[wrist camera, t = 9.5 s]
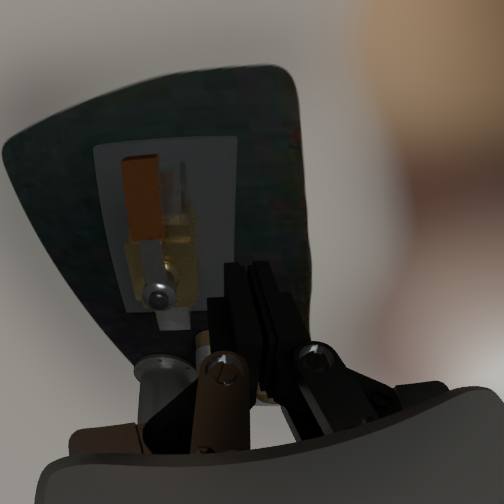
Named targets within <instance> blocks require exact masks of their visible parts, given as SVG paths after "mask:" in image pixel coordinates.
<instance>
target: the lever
mask: <svg viewBox="0 0 504 504" xmlns="http://www.w3.org/2000/svg"><path fill="white" fill-rule="evenodd" d="M120 163H121V172H122V180H123V188H124V195H125V202H126V209H127V215H128V221H129V227H130V232H131V238H132V241H138V244H139V249H140V254H141V259H142V264H143V269H144V274H145V278H146V282H145V284H144V288H143V293H142V299H143V302H144V303H145V305H146V306H148V307H149V308H151V309H153V310H156V311H166V310H169V309H171V308H172V307H173V306H174V305H175V304H176V299H177V287H176V285H175V284H174V282H173V281H171V280H170V279H168V278H167V274H166V267H165V261H164V255H163V248H162V241H161V239H164V235H165V231H166V230H165V221H164V212H163V202H162V192H161V180H160V167H159V154H148V155H138V156H129V157H125V158H124V159H123V160H121V161H120Z"/></svg>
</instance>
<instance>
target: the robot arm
mask: <svg viewBox="0 0 504 504" xmlns="http://www.w3.org/2000/svg"><path fill="white" fill-rule="evenodd" d="M206 299H207V314H208V328H209V341H210V353H211V354H210V355H208V356H207V357H205V359H204V360H203V361H202V363H201V366H200V370H199V377H198V378H197V375H196V368H195V367H194V366H193V364H191V363H190V362H189V361H187V360H185V359H183V358H180V357H178V356H174V355H168V354H152V355H148V356H145V357H142V358H140V359H139V360H138V361H137V362H136V363H135V365H134V375H135V377H136V379H137V380H138V381H139V382H140V394H139V407H138V424H137V425H136V424H135V423H128V424H121V425H113V426H106V427H97V428H86V429H80V430H77V431H76V432H74V433H73V434H72V435H71V437H70V439H69V446H68V447H69V456H67V457H63V458H61V459H58V460H56V461H53V462H52V463H50V464H48V465H47V466H46V467H45V469H44V470H43V471H42V473H41V475H40V478H39V481H38V485H37V489H36V495H35V503H34V504H504V403H503V401H502V400H501V399H500V398H499V396H498V395H497V394H496V393H495V392H493V391H492V390H491V389H488V388H485V387H479V386H469V387H461V388H456V389H453V390H450V391H449V389H448V387H447V386H446V385H445V384H444V383H442V382H440V381H430V382H422V383H414V384H405V385H396V386H395V387H394V388H391V387H389V386H387V385H385V384H383V383H380V382H378V381H376V380H373V379H371V378H369V377H367V376H364V375H362V374H360V373H357V372H355V371H353V370H351V369H349V368H346V366H345V364H344V363H343V362H342V360H341V359H340V357H339V356H338V354H337V353H336V351H335V350H333V348H332V347H330V346H329V345H327V344H325V343H322V342H318V341H311V339H310V337H309V335H308V332H307V330H306V328H305V325H304V323H303V320H302V318H301V316H300V313H299V311H298V309H297V306H296V304H295V302H294V299H293V297H292V295H291V293H290V292H284V293H280V291H279V288H278V285H277V283H276V280H275V278H274V275H273V273H272V270H271V267H270V265H269V262H268V261H253V264H252V265H248V268H247V275H246V271H245V267H244V265H243V266H239V263H238V262H227V263H224V297H208V298H206ZM258 382H259V386H260V390H261V392H263V391H266V394H267V398H268V399H269V398H273V401H274V402H276V403H278V404H279V405H281V409H282V412H283V414H284V417H285V419H286V421H287V423H288V425H289V427H290V429H291V431H292V434H293V436H294V437H295V440H296V442H295V443H291V444H285V445H279V446H273V447H267V448H260V449H252V450H250V409H251V408H252V407H253V406H254V405H255V403H256V396H257V389H258Z"/></svg>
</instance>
